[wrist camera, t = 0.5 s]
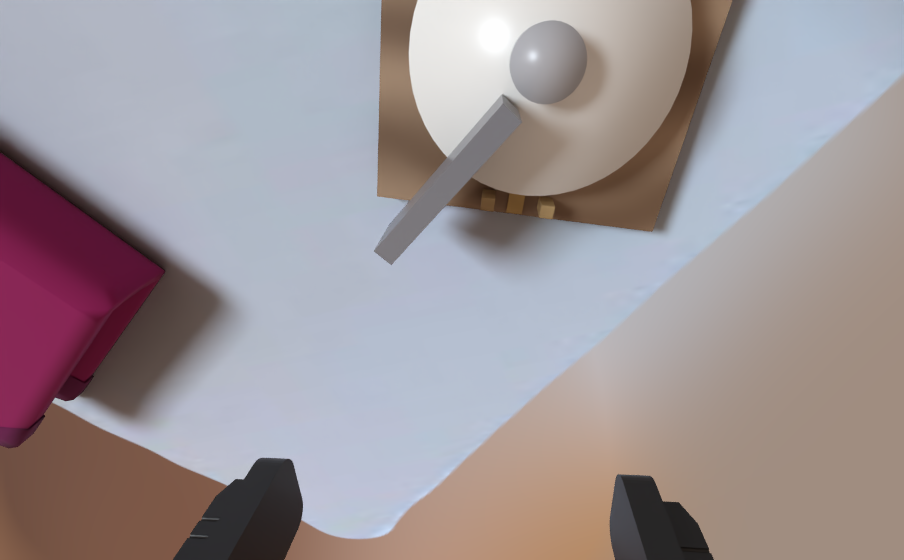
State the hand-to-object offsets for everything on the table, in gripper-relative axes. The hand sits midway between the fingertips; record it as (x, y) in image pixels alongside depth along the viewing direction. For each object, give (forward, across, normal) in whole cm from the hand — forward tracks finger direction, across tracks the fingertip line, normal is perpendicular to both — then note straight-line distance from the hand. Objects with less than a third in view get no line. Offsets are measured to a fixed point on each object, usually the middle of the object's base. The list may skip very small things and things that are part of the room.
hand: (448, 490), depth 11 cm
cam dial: (+20, -2, -8) cm, 21 cm away
